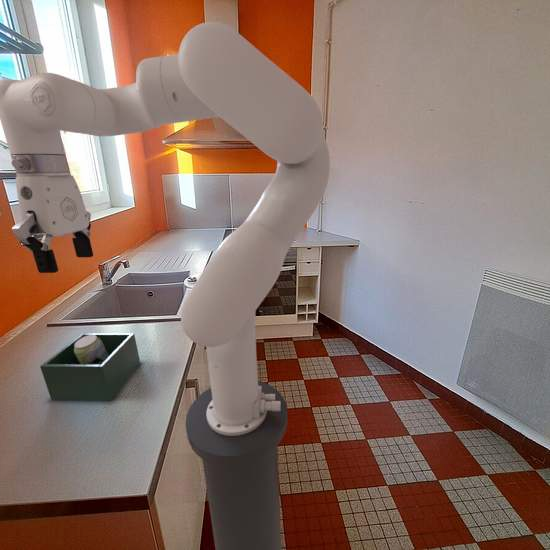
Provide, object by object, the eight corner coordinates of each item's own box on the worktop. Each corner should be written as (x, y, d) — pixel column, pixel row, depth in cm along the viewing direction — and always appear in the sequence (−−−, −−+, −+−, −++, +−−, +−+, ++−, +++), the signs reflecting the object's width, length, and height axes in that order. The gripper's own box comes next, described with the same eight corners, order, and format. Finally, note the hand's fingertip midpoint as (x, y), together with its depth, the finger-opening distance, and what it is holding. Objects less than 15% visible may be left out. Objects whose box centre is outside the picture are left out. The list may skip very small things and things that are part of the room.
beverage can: (120, 373, 79) (111, 333, 75) (94, 391, 73) (83, 348, 69) (104, 367, 82) (94, 328, 78) (78, 384, 75) (65, 342, 72)
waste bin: (140, 363, 84) (134, 333, 81) (111, 400, 70) (102, 366, 67) (90, 362, 85) (82, 333, 82) (51, 400, 71) (39, 366, 68)
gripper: (20, 166, 43) (53, 279, 48) (95, 167, 59) (113, 252, 64) (-30, 167, 43) (9, 280, 49) (58, 168, 59) (79, 252, 65)
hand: (68, 264), depth 56 cm, fingers open, 9 cm apart
